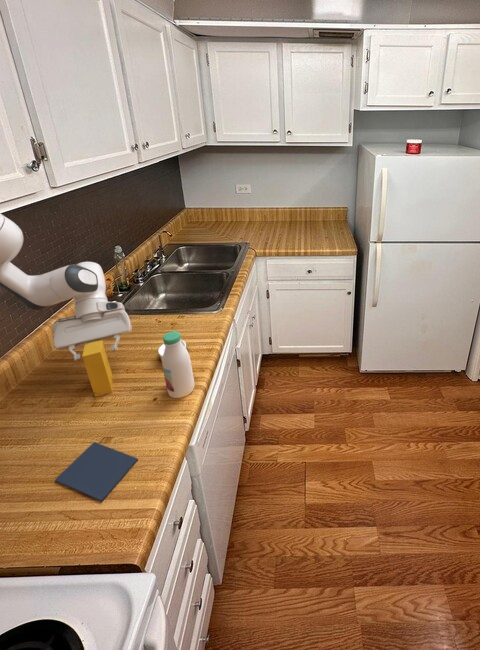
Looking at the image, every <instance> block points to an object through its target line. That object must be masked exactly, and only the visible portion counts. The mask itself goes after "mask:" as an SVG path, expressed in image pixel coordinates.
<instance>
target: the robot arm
mask: <svg viewBox="0 0 480 650" xmlns="http://www.w3.org/2000/svg"><path fill="white" fill-rule="evenodd" d="M24 238H25V237H24V233H23V230H22V229H21V228H20V226H19V225H17V223H15V222H14V221H13V220H11V219H10V218H8V217H6V216H5V215H4V214H2V213H0V287H1V288H3V289H4V290H5V291H8V292H9V293H10V294H12V295H13V296H14V297H16V298H17V299H18V300H19V301H20V302H21V303H22V304H23V305H24V306H25V307H27V308H29V309H31V310H35V311H43V310H45V309H48V308H50V307H53V306H55V305H57V304H59V303H62V302H65V301H68V300H71V299H73V300H74V315H70V316H67V317H60V318H58V319H57V320H56V321H54V322H53V323H52V326H51V328H52V329H51V330H52V333H53V339H52V342H53V343H52V346H53V347H54V348H55V349H56V350H59V351H61V350H66V349H68V351H69V352H70V353H71V354H72V355H73V360H74V362H78V361H83V358H82V353H81V352H79V353H77V351H76V350H77V347H79V346H82V345H83V346H84V345H85V344H89V343H93V342H97V341H101V340H103V341H104V340H107V339H111V338H114V344H111V345H110V348H111V349H110V350H111V352H117V351H119V349H118V348H119V347H118V345H119V344H120V342H121V336H124V335H128V334H131V332H132V331H133V325H132V322H131V319H130V317H129V315H128V313H127V312H126V307H125V305H124V304H123V303H122V302H119V301H109V300H108V297H107V294H106V291H107V283H106V278H105V277H106V276H105V274H104V271H103V268H102V266H101V265H100V264H99V263H98V262H95V261H82V262H78V263H77V264H74V263H73V264H68V265H66V266H62V267H59V268H56V269H54V270H51V271H48V272H45V273H42V274H36V275H30V274H27V273H25V272H24V271H23V270H21V269H20V268H19V267H18V266H17V265H14V264H13V263H12V261H13V260H14V259H15V258H16V257H17V255H18V254H19V253H20V251H21V249H22V247H23V245H24Z"/></svg>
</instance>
